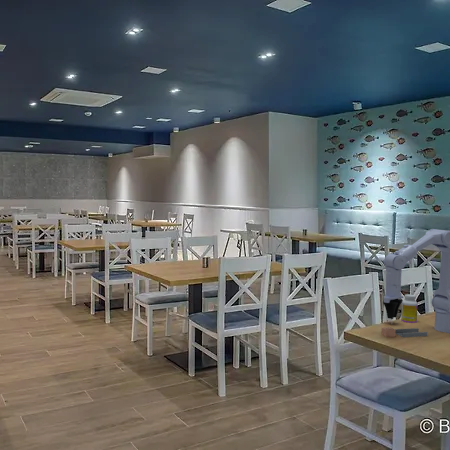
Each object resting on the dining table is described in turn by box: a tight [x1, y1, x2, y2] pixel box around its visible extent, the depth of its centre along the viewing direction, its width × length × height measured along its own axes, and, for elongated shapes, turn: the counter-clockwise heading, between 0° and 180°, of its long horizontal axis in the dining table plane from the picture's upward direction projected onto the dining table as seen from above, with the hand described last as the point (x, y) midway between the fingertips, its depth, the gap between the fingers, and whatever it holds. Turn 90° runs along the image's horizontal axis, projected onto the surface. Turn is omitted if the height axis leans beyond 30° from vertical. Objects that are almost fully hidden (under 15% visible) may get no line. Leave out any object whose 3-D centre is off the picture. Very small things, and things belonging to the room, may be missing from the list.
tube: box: [394, 327, 428, 338], centre depth 206 cm, size 11×6×3 cm, turn 103°
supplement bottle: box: [400, 293, 419, 324], centre depth 228 cm, size 7×7×13 cm
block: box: [380, 326, 396, 338], centre depth 204 cm, size 4×4×4 cm
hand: (391, 317), depth 203 cm, fingers open, 3 cm apart
